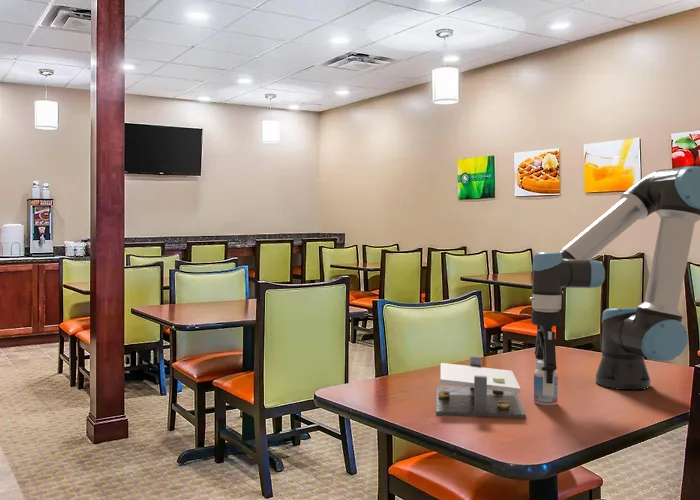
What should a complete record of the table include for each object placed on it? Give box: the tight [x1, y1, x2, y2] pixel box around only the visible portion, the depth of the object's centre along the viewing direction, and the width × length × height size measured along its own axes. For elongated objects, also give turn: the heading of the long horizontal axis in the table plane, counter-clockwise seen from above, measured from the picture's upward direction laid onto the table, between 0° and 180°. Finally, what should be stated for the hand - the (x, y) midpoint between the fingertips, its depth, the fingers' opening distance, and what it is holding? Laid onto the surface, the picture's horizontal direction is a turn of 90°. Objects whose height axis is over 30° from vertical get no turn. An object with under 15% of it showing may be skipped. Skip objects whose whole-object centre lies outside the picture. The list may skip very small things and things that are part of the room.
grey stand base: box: [435, 355, 527, 419], centre depth 173 cm, size 22×26×10 cm
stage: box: [439, 362, 521, 394], centre depth 173 cm, size 20×22×2 cm
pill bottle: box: [533, 359, 559, 407], centre depth 172 cm, size 6×6×11 cm
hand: (544, 389), depth 172 cm, fingers open, 13 cm apart
